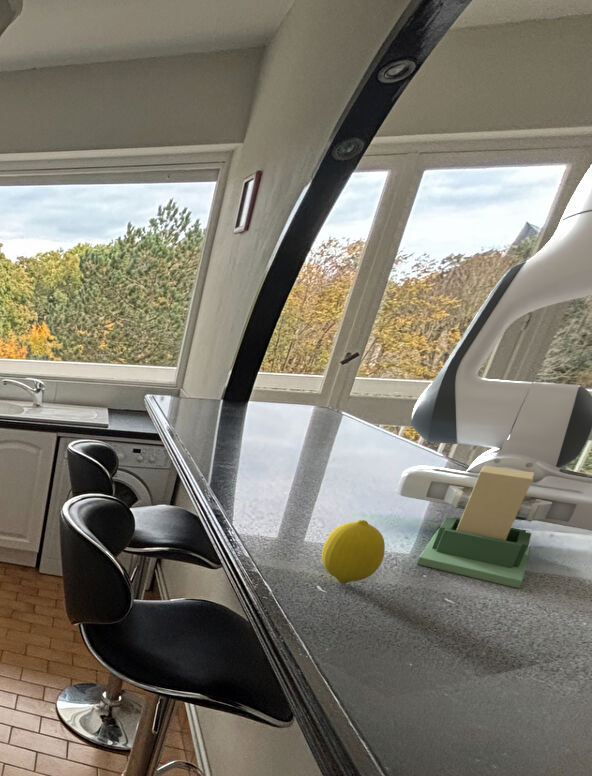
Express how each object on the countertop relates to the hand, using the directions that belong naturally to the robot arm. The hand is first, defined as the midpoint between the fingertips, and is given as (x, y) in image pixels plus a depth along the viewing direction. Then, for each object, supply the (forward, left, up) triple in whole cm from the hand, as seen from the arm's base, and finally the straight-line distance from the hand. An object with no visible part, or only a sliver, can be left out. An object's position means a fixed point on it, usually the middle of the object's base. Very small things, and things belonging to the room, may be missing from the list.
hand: (492, 507), depth 74 cm
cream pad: (0, -1, -5) cm, 6 cm away
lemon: (+18, +14, -7) cm, 24 cm away
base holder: (-1, -1, -7) cm, 7 cm away
